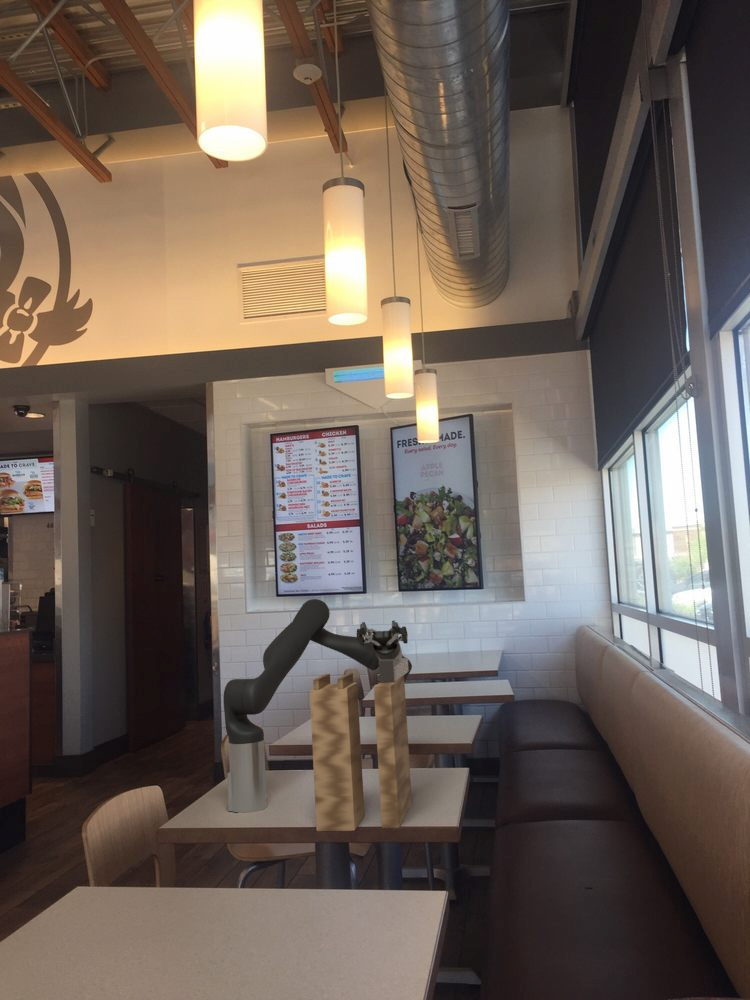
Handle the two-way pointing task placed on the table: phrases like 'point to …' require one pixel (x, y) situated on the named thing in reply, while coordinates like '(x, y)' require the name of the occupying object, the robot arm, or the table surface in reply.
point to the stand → (357, 753)
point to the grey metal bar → (392, 669)
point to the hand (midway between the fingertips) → (378, 624)
